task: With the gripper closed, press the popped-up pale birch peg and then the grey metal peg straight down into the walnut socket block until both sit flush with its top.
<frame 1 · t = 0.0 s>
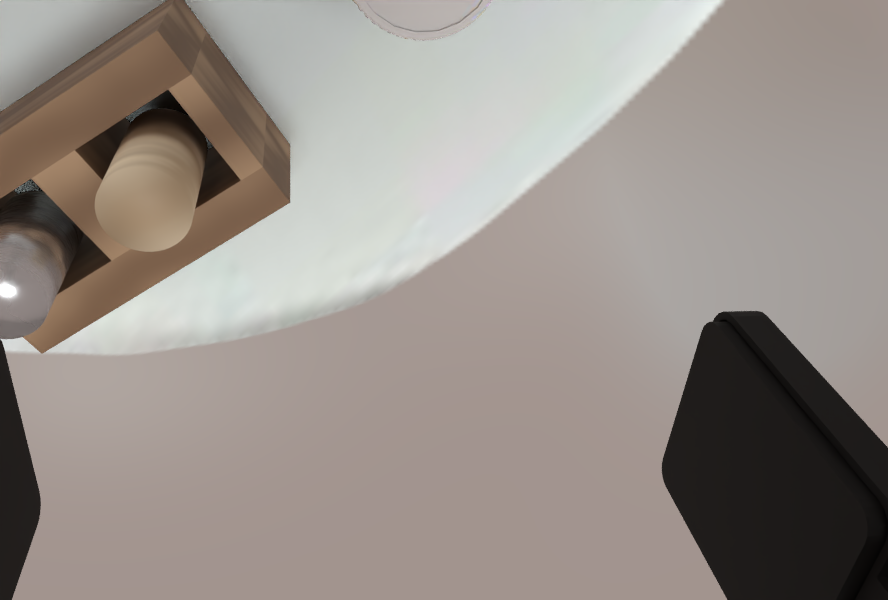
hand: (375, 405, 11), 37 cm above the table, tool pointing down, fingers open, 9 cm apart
socket block: (122, 147, 46), on the table
peg birch: (156, 176, 38), point 9 cm above the table, slide at 5.0 cm
peg metal: (22, 260, 39), point 9 cm above the table, slide at 5.0 cm
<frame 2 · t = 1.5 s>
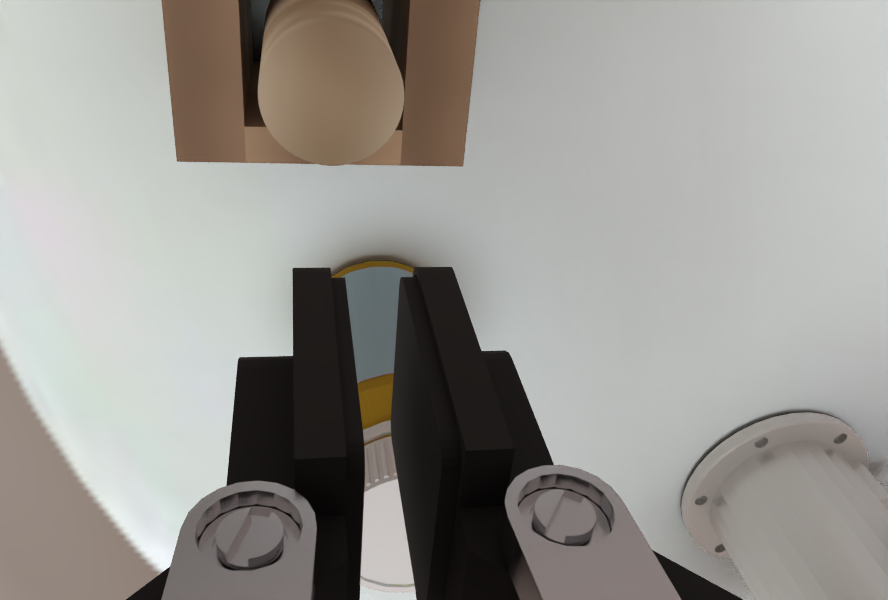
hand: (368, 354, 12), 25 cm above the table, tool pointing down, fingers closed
bottle: (375, 311, 42), on the table
peg birch: (326, 59, 25), point 9 cm above the table, slide at 5.0 cm
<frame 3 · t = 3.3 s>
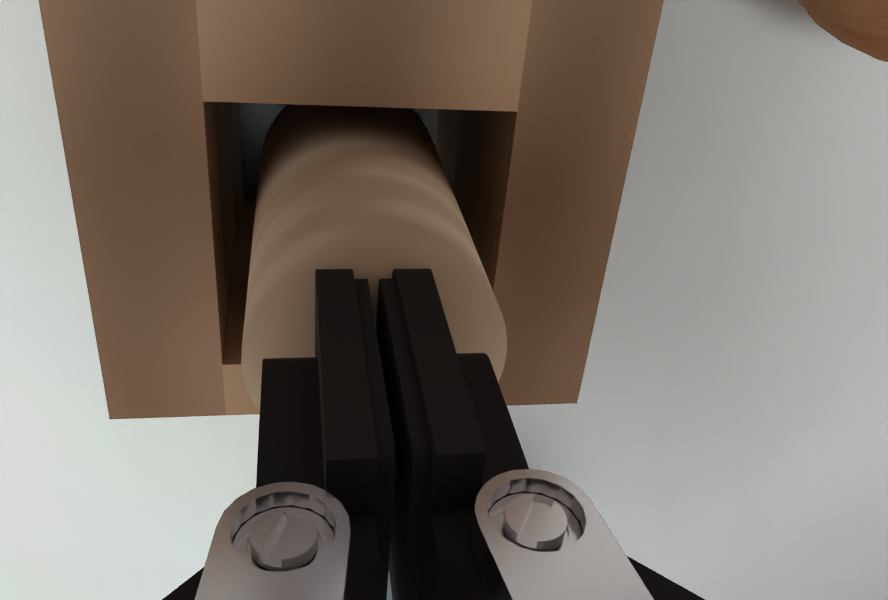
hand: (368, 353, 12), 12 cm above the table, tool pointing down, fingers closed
peg birch: (360, 244, 15), point 8 cm above the table, slide at 3.7 cm, touching gripper
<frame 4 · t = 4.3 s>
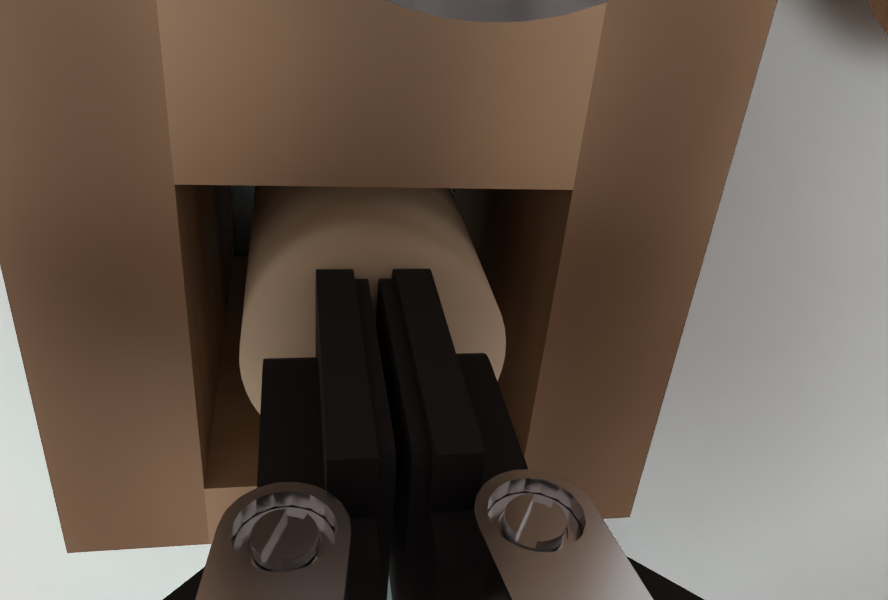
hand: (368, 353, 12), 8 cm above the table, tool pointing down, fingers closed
peg birch: (358, 243, 15), point 4 cm above the table, slide at 0.2 cm, touching gripper
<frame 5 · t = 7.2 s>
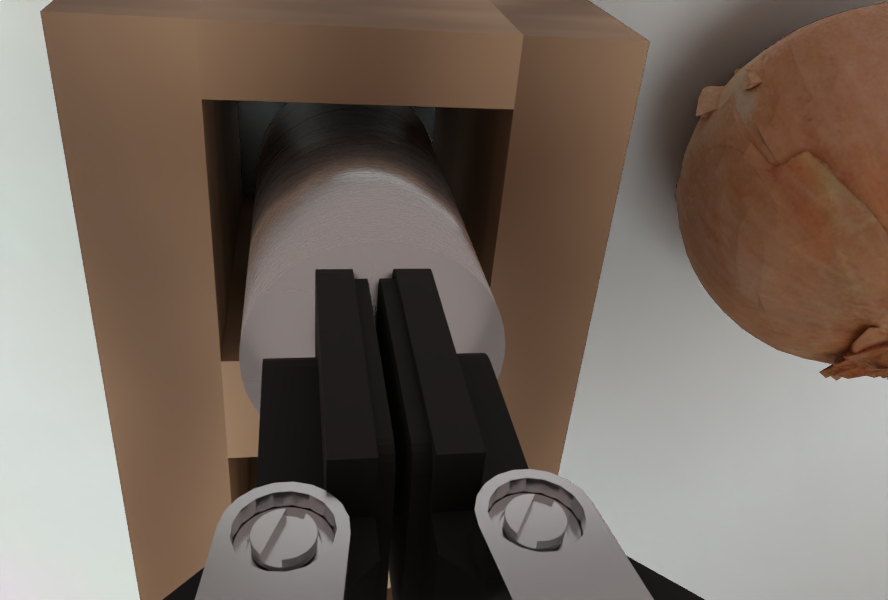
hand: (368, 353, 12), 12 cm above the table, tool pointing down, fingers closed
onion: (776, 129, 25), on the table
socket block: (336, 238, 24), on the table
peg birch: (341, 439, 22), point 4 cm above the table, slide at 0.2 cm
peg metal: (358, 244, 15), point 8 cm above the table, slide at 3.8 cm, touching gripper
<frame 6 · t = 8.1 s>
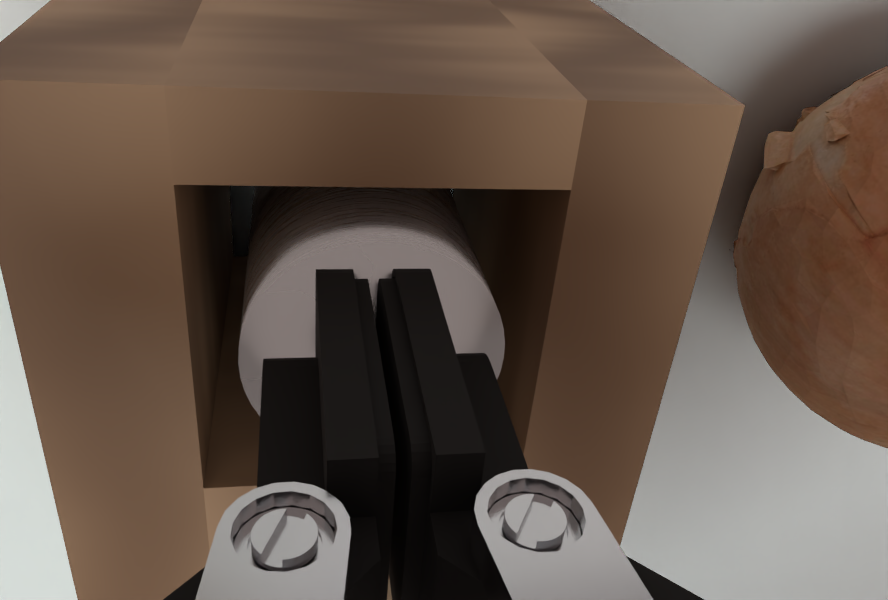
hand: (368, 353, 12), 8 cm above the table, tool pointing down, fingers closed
onion: (841, 173, 22), on the table
socket block: (341, 299, 21), on the table
peg birch: (348, 537, 19), point 4 cm above the table, slide at 0.2 cm
peg metal: (358, 244, 15), point 5 cm above the table, slide at 0.3 cm, touching gripper
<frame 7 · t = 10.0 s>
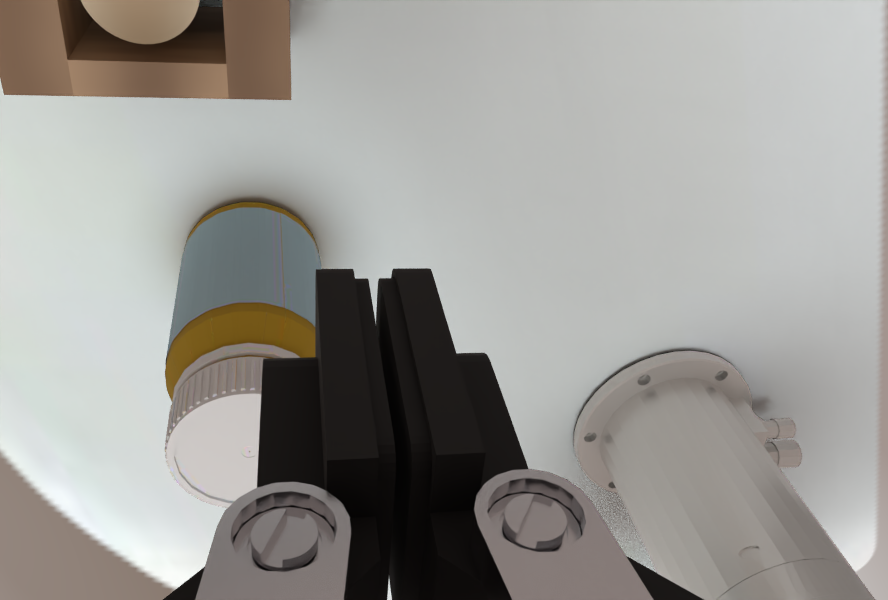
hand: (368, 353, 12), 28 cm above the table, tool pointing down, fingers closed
bottle: (252, 253, 43), on the table
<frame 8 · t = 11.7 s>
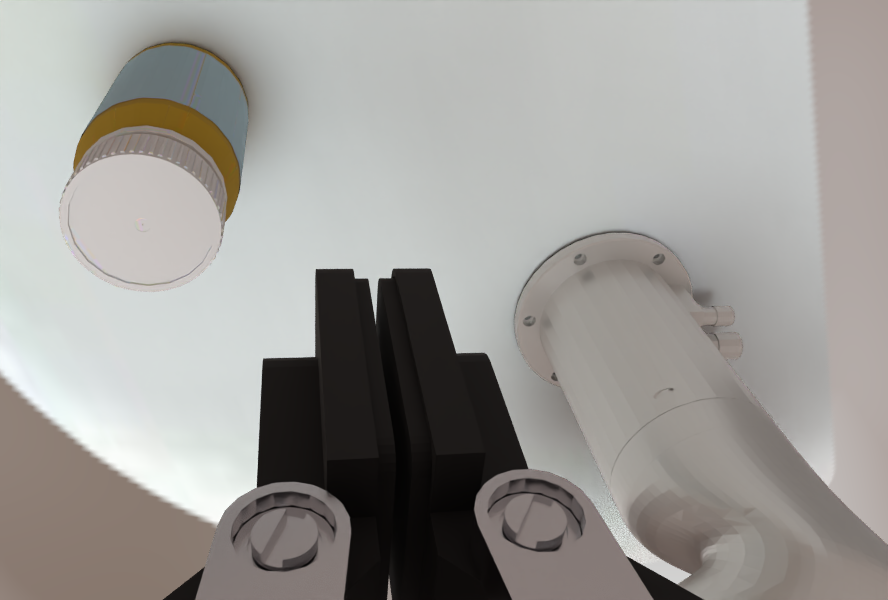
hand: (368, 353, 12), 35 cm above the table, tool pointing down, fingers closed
bottle: (184, 102, 44), on the table
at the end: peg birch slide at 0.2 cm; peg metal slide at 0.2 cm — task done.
